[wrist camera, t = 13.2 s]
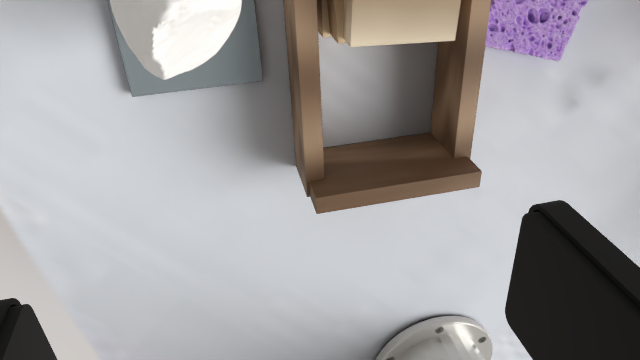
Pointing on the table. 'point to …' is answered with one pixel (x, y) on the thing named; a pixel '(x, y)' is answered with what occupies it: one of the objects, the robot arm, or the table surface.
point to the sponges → (532, 26)
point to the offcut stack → (388, 21)
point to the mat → (220, 70)
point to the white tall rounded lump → (175, 31)
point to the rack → (394, 153)
